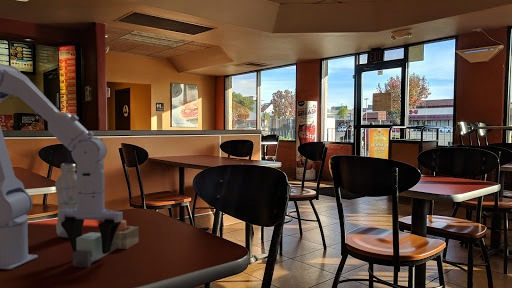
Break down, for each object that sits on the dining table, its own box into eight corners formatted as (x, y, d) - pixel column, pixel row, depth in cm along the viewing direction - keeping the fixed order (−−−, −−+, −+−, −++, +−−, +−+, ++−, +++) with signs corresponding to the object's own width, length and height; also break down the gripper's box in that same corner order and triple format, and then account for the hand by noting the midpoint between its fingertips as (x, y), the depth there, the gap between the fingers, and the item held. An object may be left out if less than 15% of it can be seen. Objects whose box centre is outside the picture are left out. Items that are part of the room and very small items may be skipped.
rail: (73, 266, 83) (72, 251, 83) (107, 247, 96) (107, 234, 96) (87, 267, 83) (87, 252, 83) (120, 248, 95) (120, 235, 95)
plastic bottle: (72, 241, 101) (71, 165, 100) (50, 239, 103) (48, 164, 101) (88, 234, 107) (87, 163, 106) (66, 232, 109) (65, 162, 108)
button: (111, 238, 97) (111, 222, 97) (118, 234, 100) (118, 219, 100) (122, 238, 97) (122, 223, 97) (128, 235, 100) (128, 220, 100)
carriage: (76, 256, 85) (76, 237, 85) (90, 248, 90) (90, 231, 90) (93, 257, 84) (92, 239, 84) (106, 250, 89) (106, 232, 89)
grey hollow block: (101, 247, 96) (101, 231, 96) (114, 240, 102) (114, 225, 102) (126, 249, 95) (126, 233, 95) (138, 241, 101) (138, 226, 101)
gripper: (129, 190, 89) (130, 247, 89) (73, 187, 92) (74, 243, 92) (112, 195, 82) (113, 258, 82) (52, 192, 85) (54, 253, 85)
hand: (91, 251), depth 87 cm, fingers open, 7 cm apart
